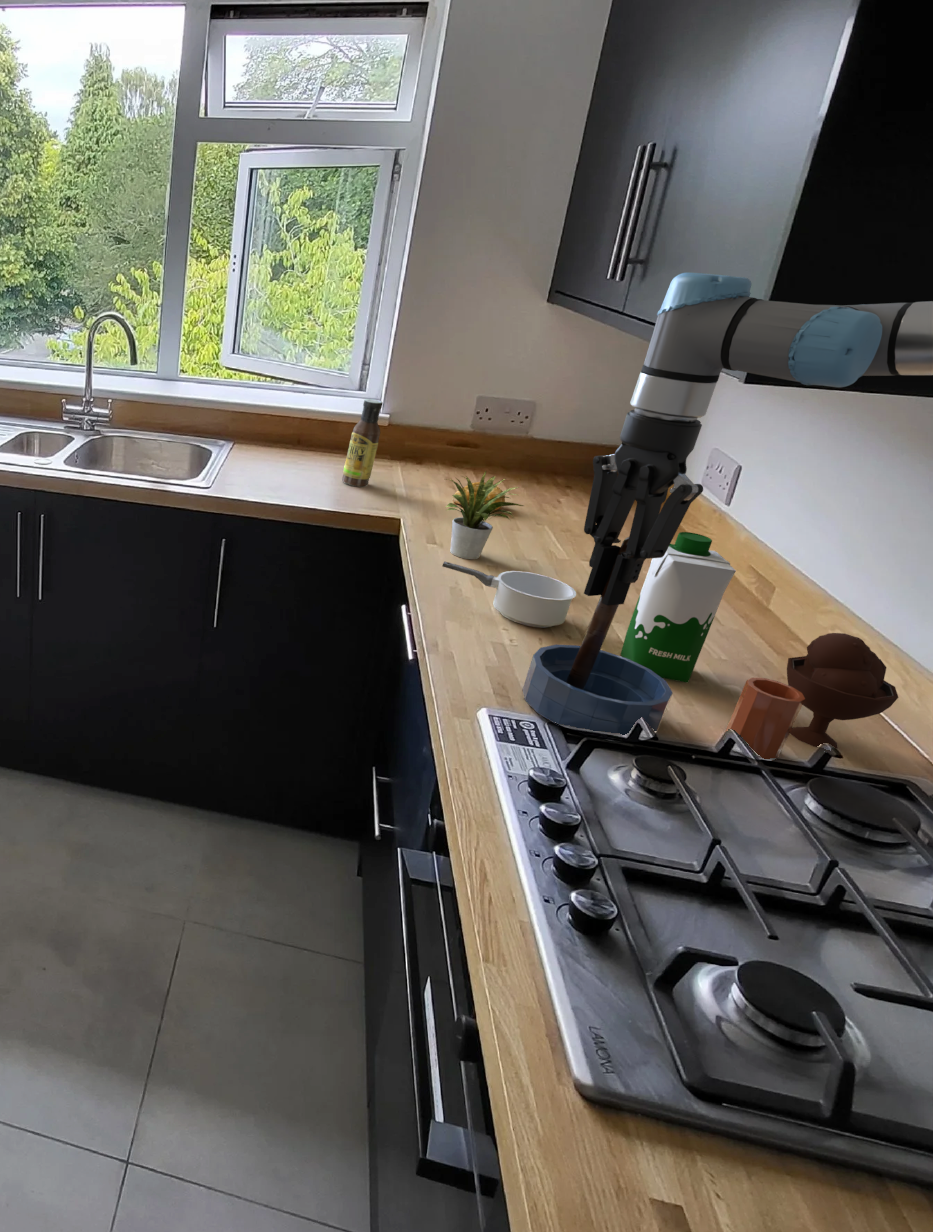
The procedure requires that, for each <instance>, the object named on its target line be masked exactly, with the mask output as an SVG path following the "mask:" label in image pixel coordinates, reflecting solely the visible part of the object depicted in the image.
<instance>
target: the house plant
mask: <svg viewBox="0 0 933 1232" xmlns="http://www.w3.org/2000/svg"><path fill="white" fill-rule="evenodd" d="M486 475H487V470H484V473H483V474H482V476H481V478H480V481H479V482H480V484H479V487H478V490H477V494H476V499H475V504H474V488H473V485H472V483H473V482H472V480H471V479H470V478H469V477H468V476H467V475H465V476H463V475H461V477H462V478H464V479H465V480H466V482H467V485H466V486H468V489H469V506H468V501H467V496H466V492H465V490H464V488H463V487H464V486H463V484H462V483H461V480H460V479H458V478H457V477H455V479H456V481H458V482H456V481H454V480H453V479H447V478H445V480H447V481H449V482H453V484H454V485H455V487H456V488H457V491H458V490H459V492H460V493H461V495H462V496H460V495H457V494H456V495H454V494H452V495H451V496H452V497H454V498H456V499H457V500H458V501H459V502H460V503H461V505H460V506H461V507H462V508H461V507H459V506H458V504H456V503H454V502H449V503H448V504H447V505H446V506H445V508H447V509H446V511H458V512H460V513H461V515H462V517H455V518H453V519H452V526H451V538H450V548H449V549H450V550H449V551H450V553H451V554H452V555H453V556H455V557H458V558H462V559H465V560H477V559H479V558H480V556H481V554H482V553H483V550H484V548H485V545H486V543H487V542H488V539H489V537H490V536H491V533H492V530H493V529H494V527H493V525H492V524H490V523H489V522H487V521H489V520H491V519H493V518H494V517H500V518H501V517H502V518H506V519H507V520H509V521H511V518H510V517H509V516H508V515H510V516H511V517H514V515H513V512H511V511H508V510H504V509H498V510H495V509H496V508H498V507H501V508H503V507H511V506H519V507H524V505H523V504H519V503H516V502H511V501H510V502H509V501H505V502H496V503H493V504H491V503H492V502H495V500H496V499H499V497H501V496H503V495H505V499H510V497H509V496H506V495H507V494H508V492H510V491H512V490H515V489H518V488H520V486H515V487H514V486H513V487H510V488H507V489H505V490H502V491H503V492H501V493H500V494H498V495H496V496H495V497H494V498H492V499H490V500H486V501H485V499H486V497H487V496H488V494H489V493H490V492H491V491H492V490H493V489H494V488H495V487H496V486H497V487H498V485H500V484H502V483H503V482H504V481H506V478H504V479H502V480H499V481H497V482H496V483H494V481H495V479H496V475H494V476H492V477H490V478H488V480H486V482H485V479H486ZM484 482H485V485H484ZM462 488H463V489H462ZM463 490H464V491H463ZM464 492H465V493H464ZM511 495H512V496H518V494H516V493H510V496H511ZM501 498H504V497H501ZM484 502H486V503H484ZM490 504H491V505H490ZM457 508H458V509H457ZM494 510H495V511H494ZM499 512H500V513H499ZM507 514H508V515H507ZM490 517H491V518H490Z"/></svg>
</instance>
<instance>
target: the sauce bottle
mask: <svg viewBox="0 0 933 1232" xmlns="http://www.w3.org/2000/svg"><path fill="white" fill-rule="evenodd" d="M383 405H384V404H383V401H382V400H379V399H374V398H366V399H364V401H363V405H362V406H363V408H362V412H361V416H360V420H359V421H358V422H357V423H356V424H355V425H354V427H353V430H352V432H351V436H350V441H349V444H348V449H347V453H346V456H345V457H346V458H345V462H344V466H343V469H342V470H343V471H342V478H341V480H342V482H343V483H345V484H346V485H348V486H352V487H357V488H364V487H366V486H368V485H369V481H370V479H371V477H372V476H371V475H372V471H373V466H374V463H375V460H376V459H375V458H376V455H377V452H378V451H377V450H378V446H379V440H380V437H381V428H380V425H379V422H378V421H379V416H380V413H381V410H382V407H383Z"/></svg>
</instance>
